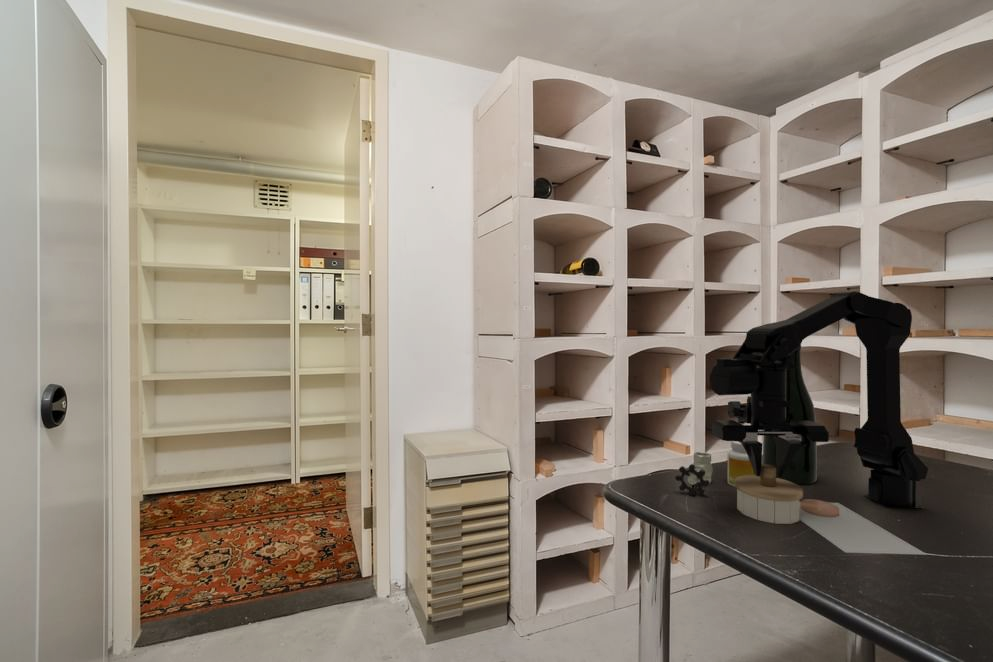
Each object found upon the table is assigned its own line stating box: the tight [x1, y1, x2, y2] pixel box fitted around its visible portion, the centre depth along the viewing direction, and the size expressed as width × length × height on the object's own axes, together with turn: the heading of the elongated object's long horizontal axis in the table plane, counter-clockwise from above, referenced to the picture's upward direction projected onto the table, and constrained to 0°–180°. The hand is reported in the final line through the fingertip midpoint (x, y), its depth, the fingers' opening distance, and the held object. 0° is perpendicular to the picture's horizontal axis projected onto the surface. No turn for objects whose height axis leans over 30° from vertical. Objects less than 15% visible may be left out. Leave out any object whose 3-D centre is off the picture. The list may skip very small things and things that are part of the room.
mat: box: [799, 501, 928, 556], centre depth 80 cm, size 12×20×1 cm, turn 176°
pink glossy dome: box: [800, 498, 839, 517], centre depth 86 cm, size 6×6×1 cm
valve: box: [674, 451, 714, 497], centre depth 99 cm, size 7×7×12 cm
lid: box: [734, 463, 804, 502], centre depth 86 cm, size 11×11×4 cm
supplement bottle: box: [726, 441, 755, 487], centre depth 100 cm, size 5×5×10 cm
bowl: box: [736, 488, 801, 525], centre depth 86 cm, size 10×10×4 cm
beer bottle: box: [762, 344, 818, 486], centre depth 104 cm, size 10×10×33 cm
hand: (767, 475), depth 86 cm, fingers open, 4 cm apart
